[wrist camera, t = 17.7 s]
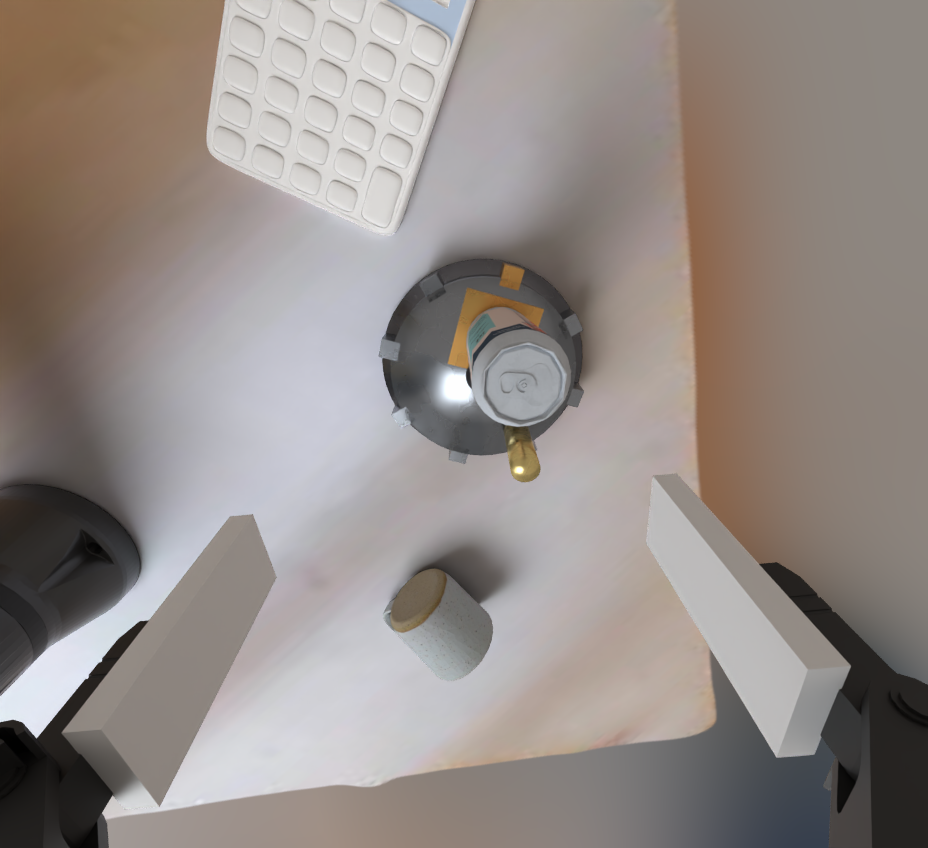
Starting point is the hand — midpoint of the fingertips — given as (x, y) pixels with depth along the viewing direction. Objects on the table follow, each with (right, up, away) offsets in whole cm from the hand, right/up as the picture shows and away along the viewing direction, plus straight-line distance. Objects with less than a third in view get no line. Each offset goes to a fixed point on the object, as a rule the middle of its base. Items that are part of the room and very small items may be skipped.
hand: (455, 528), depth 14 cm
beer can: (+3, +10, +17) cm, 19 cm away
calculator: (-7, +28, +12) cm, 31 cm away
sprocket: (+2, +8, +21) cm, 22 cm away
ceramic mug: (-3, -15, +32) cm, 35 cm away
